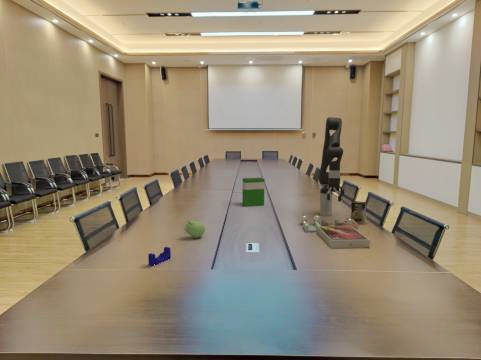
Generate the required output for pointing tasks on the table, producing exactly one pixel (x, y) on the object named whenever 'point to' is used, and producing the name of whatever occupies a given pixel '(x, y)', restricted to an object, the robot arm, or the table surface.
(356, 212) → the coffee box
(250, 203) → the hardback book
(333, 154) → the robot arm
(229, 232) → the table surface
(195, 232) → the green round fruit
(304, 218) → the cell
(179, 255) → the table surface
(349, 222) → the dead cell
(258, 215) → the table surface
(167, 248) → the cable clip
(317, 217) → the cell
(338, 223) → the grey piece
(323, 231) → the product packaging
